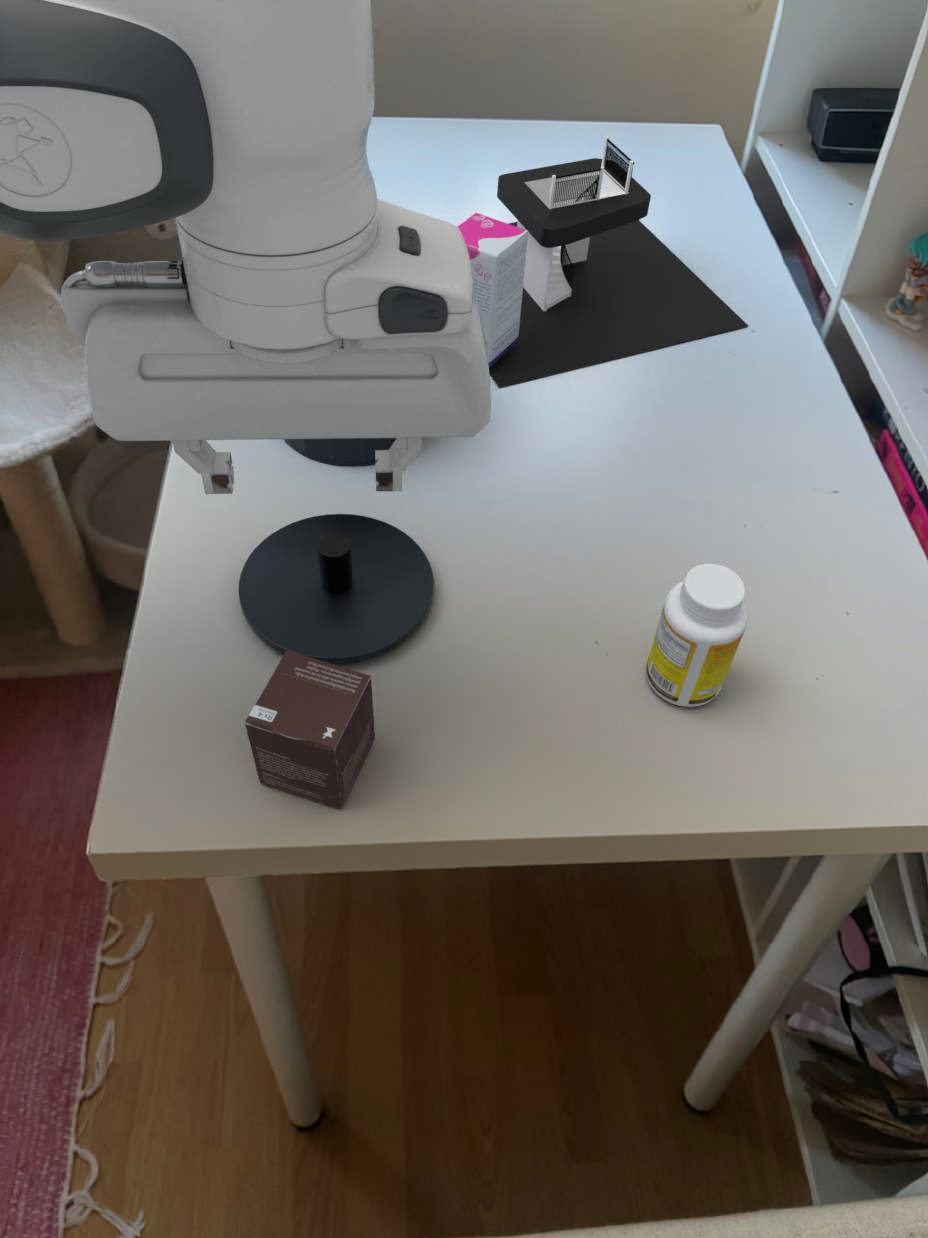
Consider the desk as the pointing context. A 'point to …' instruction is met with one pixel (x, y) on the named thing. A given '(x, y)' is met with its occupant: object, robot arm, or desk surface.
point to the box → (312, 728)
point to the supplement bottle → (697, 636)
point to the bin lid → (336, 588)
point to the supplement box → (497, 278)
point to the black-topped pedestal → (597, 272)
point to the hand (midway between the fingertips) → (305, 485)
